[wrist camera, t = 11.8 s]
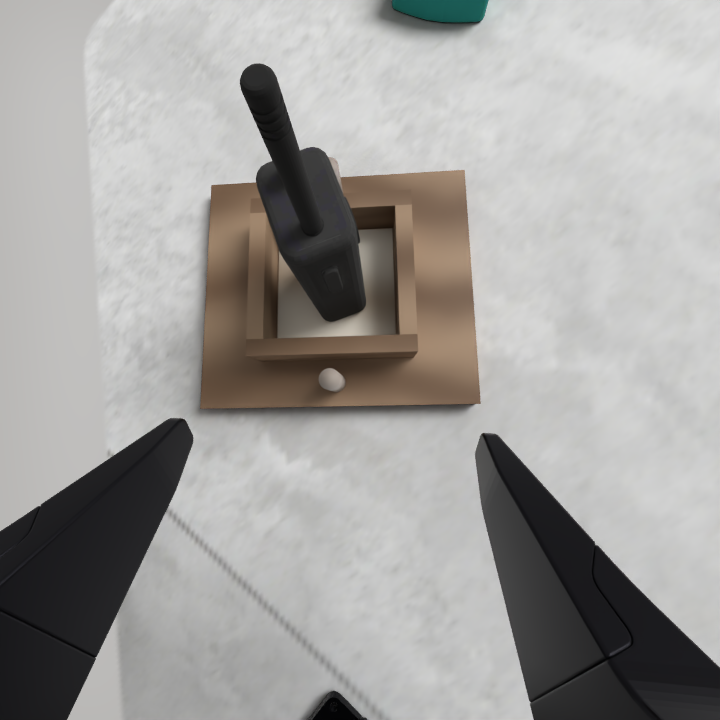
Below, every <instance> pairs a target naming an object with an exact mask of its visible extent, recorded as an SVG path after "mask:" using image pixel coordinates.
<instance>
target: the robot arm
mask: <svg viewBox="0 0 720 720" xmlns="http://www.w3.org/2000/svg"><path fill="white" fill-rule="evenodd" d="M192 444H193V435H192V432H191V430H190V428H189V426H188V424H187V422H186V421H185V420H184V419H182V418H170V419H168V420H166V421H165V422H163V423H162V424H160V425H159V426H157V427H156V428H154V429H153V430H151V431H150V432H148V433H147V434H145V435H144V436H142V437H141V438H139V439H138V440H136V441H135V442H133V443H132V444H130V445H129V446H127V447H126V448H125V449H123V450H122V451H120V452H119V453H117V454H116V455H114V456H113V457H111V458H110V459H108V460H107V461H105V462H104V463H102V464H101V465H99V466H98V467H96V468H95V469H93V470H92V471H90V472H89V473H87V474H86V475H84V476H83V477H81V478H80V479H78V480H77V481H76V482H74V483H72V484H71V485H69V486H68V487H66V488H65V489H63V490H62V491H60V492H59V493H57V494H56V495H54V496H53V497H51V498H50V499H48V500H47V501H45V502H44V503H43V504H41V506H38V507H36V508H35V509H33V510H32V511H30V512H29V513H27V514H26V515H24V516H23V517H22V518H20V519H18V520H17V521H15V522H14V523H12V524H11V525H9V526H8V527H6V528H5V529H3V530H2V531H0V720H67V718H68V716H69V714H70V712H71V710H72V708H73V706H74V704H75V702H76V700H77V697H78V695H79V693H80V691H81V689H82V687H83V685H84V683H85V681H86V679H87V676H88V674H89V672H90V670H91V668H92V666H93V664H94V662H95V660H96V658H95V657H97V655H98V653H99V651H100V649H101V646H102V644H103V642H104V640H105V638H106V636H107V634H108V632H109V630H110V628H111V626H112V623H113V621H114V619H115V617H116V615H117V613H118V611H119V609H120V607H121V605H122V602H123V600H124V598H125V596H126V594H127V592H128V590H129V588H130V586H131V584H132V581H133V579H134V577H135V575H136V573H137V571H138V569H139V567H140V565H141V563H142V560H143V558H144V556H145V554H146V552H147V550H148V548H149V546H150V544H151V542H152V539H153V537H154V535H155V533H156V531H157V529H158V527H159V525H160V523H161V520H162V518H163V516H164V514H165V512H166V510H167V508H168V506H169V504H170V502H171V499H172V497H173V495H174V493H175V491H176V488H177V486H178V483H179V481H180V478H181V475H182V472H183V469H184V467H185V464H186V461H187V458H188V455H189V453H190V450H191V447H192ZM475 459H476V467H477V474H478V482H479V490H480V498H481V505H482V510H483V515H484V519H485V523H486V527H487V532H488V536H489V540H490V544H491V548H492V552H493V556H494V560H495V564H496V568H497V572H498V576H499V580H500V584H501V588H502V592H503V596H504V600H505V604H506V608H507V612H508V616H509V621H510V625H511V629H512V633H513V637H514V641H515V645H516V649H517V653H518V657H519V661H520V665H521V669H522V673H523V677H524V681H525V685H526V689H527V693H528V697H529V701H530V702H531V703H530V706H531V710H532V714H533V718H534V720H720V667H719V666H718V665H717V664H716V663H714V662H713V661H712V660H711V659H710V658H709V657H708V656H707V655H706V654H705V653H704V652H703V651H702V650H701V649H700V648H699V647H698V646H697V645H696V644H695V643H694V642H693V641H692V640H691V639H690V638H689V637H687V636H686V635H685V634H684V633H683V632H682V631H681V630H680V629H679V628H678V627H677V626H676V625H675V624H674V623H673V622H672V621H671V620H670V619H669V618H668V617H667V616H666V615H665V614H664V613H663V612H662V611H660V610H659V609H658V608H657V607H656V606H655V605H654V604H653V603H652V602H651V601H650V600H649V599H648V598H647V597H646V596H645V595H644V594H643V593H642V592H641V591H640V590H639V589H638V588H637V587H636V586H635V585H634V584H633V583H632V582H631V581H630V580H629V579H628V577H627V576H626V575H625V574H624V573H623V572H622V571H621V570H620V569H619V568H618V567H617V566H616V565H615V564H614V563H613V562H612V560H611V559H610V558H609V557H608V556H607V555H606V554H605V553H604V552H603V551H602V549H601V548H600V547H599V546H598V545H595V542H594V541H593V540H592V539H591V537H590V536H589V535H588V534H587V533H586V532H585V531H584V530H583V529H582V528H581V526H580V525H579V524H578V523H577V522H576V521H575V520H574V519H573V518H572V517H571V515H570V514H569V513H568V512H567V511H566V510H565V509H564V508H563V507H562V505H561V504H560V503H559V502H558V501H557V500H556V499H555V498H554V497H553V496H552V494H551V493H550V492H549V491H548V490H547V489H546V488H545V487H544V486H543V485H542V483H541V482H540V481H539V480H538V479H537V478H536V477H535V476H534V475H533V473H532V472H531V471H530V470H529V469H528V468H527V467H526V466H525V465H524V464H523V462H522V461H521V460H520V459H519V458H518V457H517V456H516V455H515V454H514V452H513V451H512V450H511V449H510V448H509V447H508V446H507V445H506V444H505V443H504V441H503V440H502V439H501V438H500V437H499V436H498V435H497V434H492V433H483V434H481V436H480V439H479V442H478V445H477V448H476V452H475ZM332 702H335V703H337V705H336V706H334V705H332V704H331V703H332ZM309 720H367V719H366V718H364V717H362V715H361V714H360V713H359V712H358V711H357V710H356V709H355V708H354V707H353V706H352V705H351V704H350V703H349V702H348V701H347V700H346V699H345V698H344V697H343V696H342V695H341V694H340V693H338V692H336V691H333V692H330V693H329V694H328V695H327V697H326V698H325V699H324V700H323V702H322V703H321V704H320V706H319V707H318V708H317V709H316V711H315V712H314V713H313V715H312V716H311V717H310V718H309Z"/></svg>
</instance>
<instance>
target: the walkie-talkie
mask: <svg viewBox="0 0 720 720" xmlns="http://www.w3.org/2000/svg"><path fill="white" fill-rule="evenodd" d="M240 86H241V90H242V93H243V95H244V97H245V100H246V102H247V104H248V106H249V109H250V111H251V113H252V115H253V118H254V120H255V122H256V124H257V127H258V129H259V131H260V133H261V136H262V138H263V140H264V143H265V145H266V147H267V149H268V152H269V154H270V156H271V158H272V162H269V163H266V164H265V165H263V166H262V167H261V168H260V169H259V170H258V172H257V176H256V183H257V188H258V191H259V194H260V197H261V200H262V203H263V206H264V209H265V211H266V214H267V217H268V220H269V223H270V226H271V229H272V231H273V234H274V237H275V240H276V243H277V246H278V249H279V252H280V254H281V256H282V257H283V259H284V261H285V262H286V264H287V265H288V267H289V268H290V270H291V271H292V273H293V274H294V276H295V277H296V279H297V280H298V282H299V283H300V285H301V286H302V288H303V289H304V291H305V292H306V294H307V295H308V297H309V298H310V300H311V301H312V303H313V304H314V306H315V307H316V309H317V310H318V312H319V313H320V315H321V316H322V318H323V319H324V320H326V321H329V322H334V321H337V320H339V319H342V318H345V317H347V316H350V315H353V314H356V313H358V312H360V311H362V310H363V309H364V308H365V306H366V296H365V288H364V281H363V274H362V267H361V260H360V252H359V245H358V244H359V243H360V237H359V232H358V228H357V225H356V222H355V219H354V216H353V213H352V210H351V208H350V205H349V203H348V200H347V198H346V197H344V195H343V192H342V190H341V187H340V185H339V182H338V180H337V177H336V175H335V172H334V169H333V167H332V164H331V162H330V160H329V158H328V156H327V155H326V153H325V152H324V151H322V150H321V149H319V148H315V147H310V148H306V149H303V150H299V147H298V143H297V140H296V137H295V134H294V131H293V128H292V125H291V121H290V119H289V115H288V112H287V109H286V106H285V103H284V100H283V96H282V93H281V90H280V87H279V84H278V81H277V77H276V75H275V74H274V72H273V70H272V69H271V68H270V67H268V66H266V65H264V64H252V65H250V66H248V67H247V68H246V69H245V70H244V71H243V73H242V75H241V78H240Z"/></svg>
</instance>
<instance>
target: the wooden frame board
mask: <svg viewBox="0 0 720 720" xmlns="http://www.w3.org/2000/svg"><path fill="white" fill-rule="evenodd" d="M328 158H329V160H330V162H331V164H332V167H333V169H334V172H335V175H336V177H337V180H338V182H339V185H340V187H341V190H342V192H343V195H344V197H346V198H347V200H348V203H349V205H350V208H351V210H352V213H353V216H354V219H355V222H356V225H357V228H358V232H359V237H360V243H359V244H358V245H359V252H360V260H361V267H362V274H363V281H364V288H365V296H366V306H365V308H364V309H363V310H362V311H360V312H358V313H356V314H353V315H350V316H347V317H345V318H342V319H339V320H337V321H334V322H329V321H326V320H324V319H323V318H322V316H321V315H320V313H319V312H318V310H317V309H316V307H315V306H314V304H313V303H312V301H311V300H310V298H309V297H308V295H307V294H306V292H305V291H304V289H303V288H302V286H301V285H300V283H299V282H298V280H297V279H296V277H295V276H294V274H293V273H292V271H291V270H290V268H289V267H288V265H287V264H286V262H285V261H284V259H283V257H282V256H281V254H280V252H279V249H278V246H277V243H276V240H275V237H274V234H273V231H272V229H271V226H270V223H269V220H268V217H267V214H266V211H265V209H264V206H263V203H262V200H261V197H260V194H259V191H258V188H257V183H241V184H224V185H212V187H211V207H210V226H209V246H208V266H207V286H206V305H205V325H204V345H203V365H202V384H201V404H200V409H210V408H266V407H322V406H378V405H434V404H481V403H480V388H479V374H478V359H477V345H476V330H475V316H474V301H473V287H472V272H471V258H470V243H469V229H468V214H467V200H466V185H465V171H464V170H456V171H440V172H423V173H407V174H390V175H373V176H357V177H340V173H339V167H338V163H337V161H336V160H335V159H334V158H331V157H328Z"/></svg>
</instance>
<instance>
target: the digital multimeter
mask: <svg viewBox="0 0 720 720" xmlns="http://www.w3.org/2000/svg"><path fill="white" fill-rule="evenodd" d="M487 4H488V0H392V7H393V8H394V9H395V10H397V11H400V12H403V13H405V14H408V15H412V16H415V17H418V18H422V19H425V20H431V21H438V22H479V21H481V20H482V19H483V18H484V16H485V12H486V8H487Z"/></svg>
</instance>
